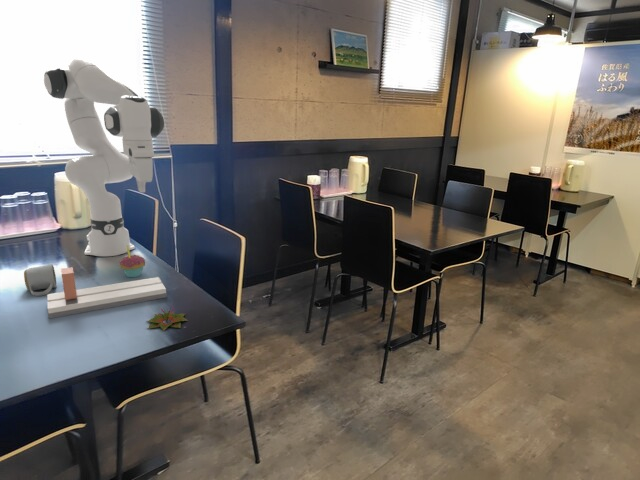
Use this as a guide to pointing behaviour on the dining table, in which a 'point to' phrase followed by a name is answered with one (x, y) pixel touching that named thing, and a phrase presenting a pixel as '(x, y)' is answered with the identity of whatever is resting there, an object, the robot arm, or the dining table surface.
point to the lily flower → (160, 318)
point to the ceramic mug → (40, 279)
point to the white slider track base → (105, 297)
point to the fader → (69, 283)
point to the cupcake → (132, 264)
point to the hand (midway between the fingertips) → (141, 191)
